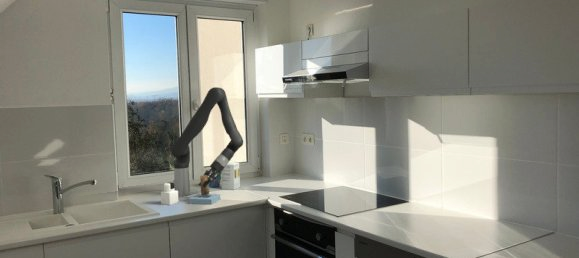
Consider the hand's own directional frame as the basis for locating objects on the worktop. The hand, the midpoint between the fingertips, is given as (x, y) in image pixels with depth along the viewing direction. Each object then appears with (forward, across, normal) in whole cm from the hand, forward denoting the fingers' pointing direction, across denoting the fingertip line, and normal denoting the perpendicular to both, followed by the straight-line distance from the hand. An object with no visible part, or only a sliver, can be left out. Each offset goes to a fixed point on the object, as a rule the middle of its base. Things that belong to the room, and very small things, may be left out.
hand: (201, 186), depth 287 cm
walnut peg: (+2, 0, +5) cm, 5 cm away
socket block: (+5, 0, +8) cm, 9 cm away
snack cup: (-10, -40, +24) cm, 48 cm away
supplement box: (-15, -26, +28) cm, 42 cm away
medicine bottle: (+18, -9, -5) cm, 21 cm away
